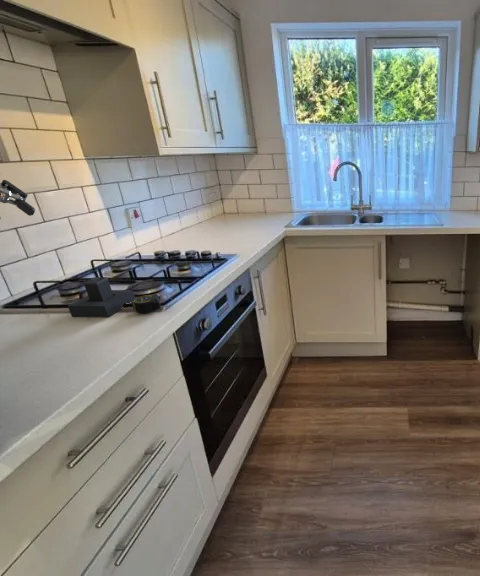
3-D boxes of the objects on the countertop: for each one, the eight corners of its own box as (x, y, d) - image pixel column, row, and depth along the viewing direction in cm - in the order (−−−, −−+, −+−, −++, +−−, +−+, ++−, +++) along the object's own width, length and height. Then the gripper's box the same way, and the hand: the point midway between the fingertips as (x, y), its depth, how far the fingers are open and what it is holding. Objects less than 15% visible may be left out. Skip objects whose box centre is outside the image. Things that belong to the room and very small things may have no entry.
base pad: (108, 317, 101) (104, 306, 99) (71, 316, 102) (67, 305, 100) (136, 300, 111) (132, 290, 110) (102, 300, 112) (98, 289, 110)
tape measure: (162, 312, 103) (158, 300, 102) (134, 318, 100) (130, 305, 99) (162, 303, 109) (159, 291, 107) (135, 308, 106) (131, 297, 104)
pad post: (107, 311, 104) (96, 282, 101) (93, 311, 105) (82, 282, 101) (117, 305, 108) (107, 277, 105) (104, 304, 108) (94, 277, 105)
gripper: (-83, 159, 78) (-10, 212, 82) (-12, 155, 91) (48, 200, 95) (-91, 185, 80) (-20, 234, 84) (-21, 177, 93) (38, 220, 97)
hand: (16, 216), depth 89 cm, fingers open, 8 cm apart
